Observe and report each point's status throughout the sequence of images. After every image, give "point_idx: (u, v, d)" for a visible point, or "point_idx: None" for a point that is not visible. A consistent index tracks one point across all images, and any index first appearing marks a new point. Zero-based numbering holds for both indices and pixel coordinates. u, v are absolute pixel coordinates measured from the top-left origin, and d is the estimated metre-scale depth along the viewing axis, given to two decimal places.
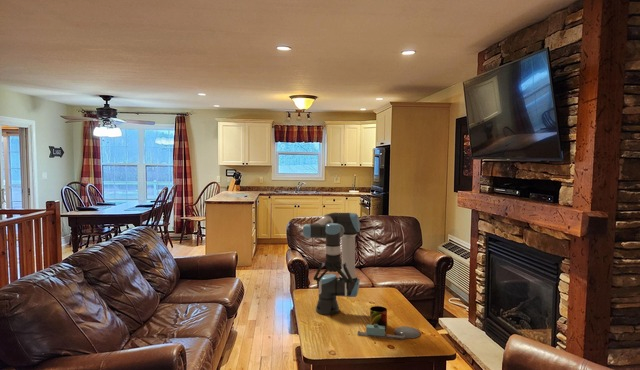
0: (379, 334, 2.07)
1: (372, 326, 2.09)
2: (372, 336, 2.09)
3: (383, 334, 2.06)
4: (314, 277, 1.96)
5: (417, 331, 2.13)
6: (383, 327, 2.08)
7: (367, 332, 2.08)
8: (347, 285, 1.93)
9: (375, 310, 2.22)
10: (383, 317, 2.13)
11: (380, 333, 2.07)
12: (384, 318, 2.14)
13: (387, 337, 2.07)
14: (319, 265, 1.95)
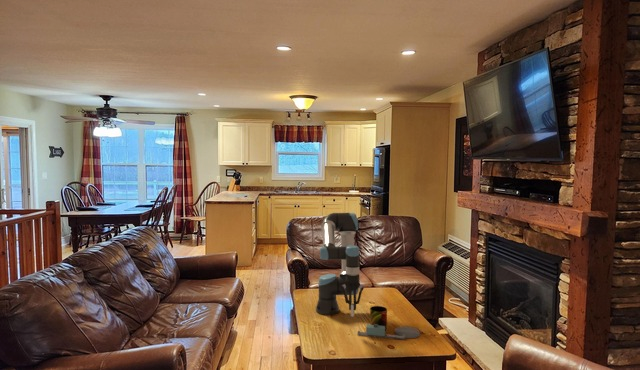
0: (379, 334, 2.07)
1: (372, 326, 2.09)
2: (372, 336, 2.09)
3: (383, 334, 2.06)
4: None
5: (417, 331, 2.13)
6: (383, 327, 2.08)
7: (367, 332, 2.08)
8: (354, 306, 2.10)
9: (375, 310, 2.22)
10: (383, 317, 2.14)
11: (380, 333, 2.07)
12: (384, 318, 2.14)
13: (387, 337, 2.07)
14: (342, 289, 2.11)
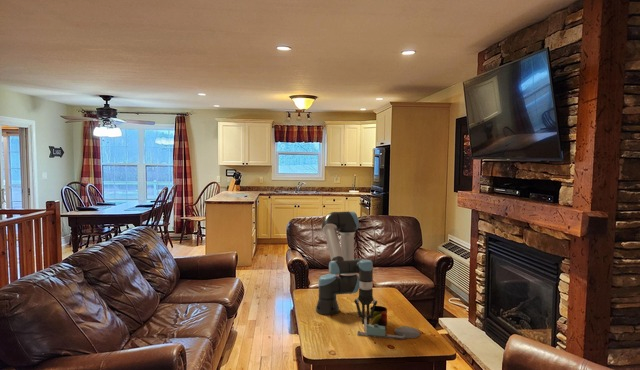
0: (379, 334, 2.07)
1: (372, 326, 2.09)
2: (372, 336, 2.09)
3: (383, 334, 2.06)
4: (359, 315, 2.10)
5: (417, 331, 2.13)
6: (383, 327, 2.08)
7: (367, 332, 2.08)
8: (367, 321, 2.09)
9: (375, 310, 2.22)
10: (383, 317, 2.14)
11: (380, 333, 2.07)
12: (384, 318, 2.14)
13: (387, 337, 2.07)
14: (355, 303, 2.10)
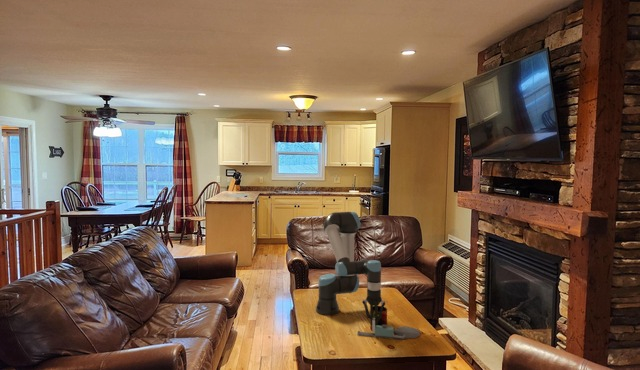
0: (388, 335, 2.06)
1: (380, 327, 2.08)
2: (372, 336, 2.09)
3: (392, 335, 2.05)
4: (367, 316, 2.09)
5: (417, 331, 2.13)
6: (392, 328, 2.07)
7: (376, 333, 2.07)
8: (376, 322, 2.08)
9: None
10: (383, 317, 2.14)
11: (389, 334, 2.06)
12: (384, 318, 2.14)
13: (387, 337, 2.07)
14: None
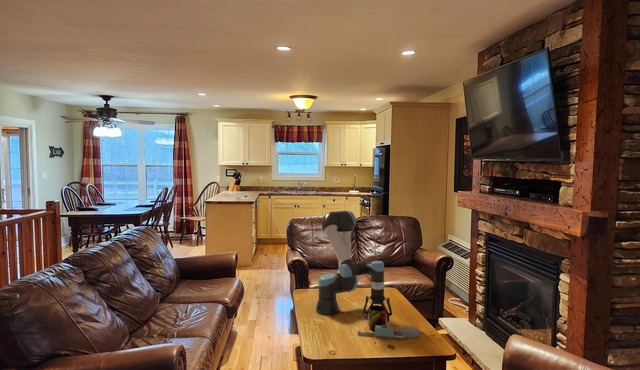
0: (388, 335, 2.06)
1: (381, 327, 2.08)
2: (372, 336, 2.09)
3: (392, 335, 2.05)
4: (363, 311, 2.20)
5: (417, 331, 2.13)
6: (392, 328, 2.07)
7: (376, 333, 2.07)
8: (388, 318, 2.18)
9: (374, 309, 2.23)
10: (382, 316, 2.14)
11: (389, 334, 2.06)
12: (383, 317, 2.15)
13: (387, 337, 2.07)
14: None
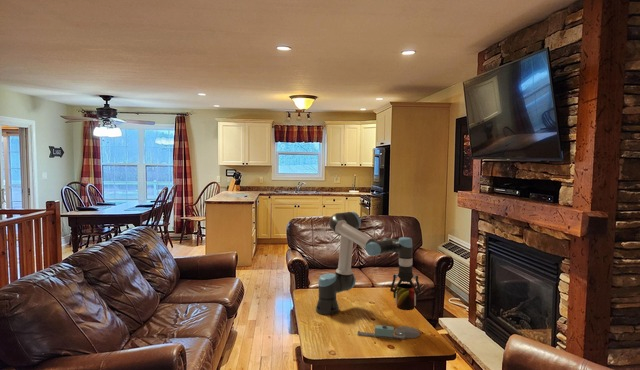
0: (388, 335, 2.06)
1: (381, 327, 2.08)
2: (372, 336, 2.09)
3: (392, 335, 2.05)
4: (390, 289, 2.13)
5: (417, 331, 2.13)
6: (392, 328, 2.07)
7: (376, 333, 2.07)
8: (416, 296, 2.10)
9: (402, 287, 2.16)
10: (410, 294, 2.07)
11: (389, 334, 2.06)
12: (412, 295, 2.08)
13: (387, 337, 2.07)
14: (393, 277, 2.13)
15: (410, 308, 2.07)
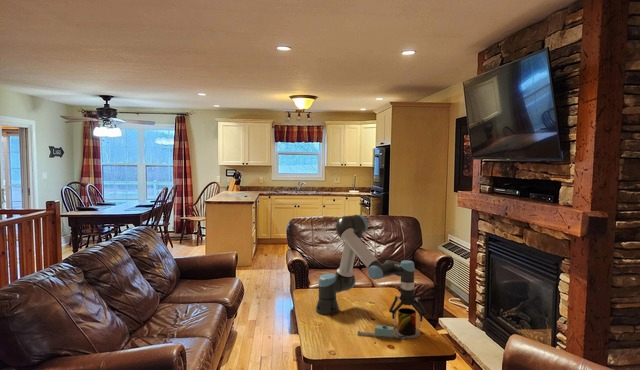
0: (388, 335, 2.06)
1: (381, 327, 2.08)
2: (372, 336, 2.09)
3: (392, 335, 2.05)
4: (390, 310, 2.14)
5: (417, 331, 2.13)
6: (392, 328, 2.07)
7: (376, 333, 2.07)
8: (421, 318, 2.11)
9: (403, 312, 2.17)
10: (412, 319, 2.08)
11: (389, 334, 2.06)
12: (413, 320, 2.08)
13: (387, 337, 2.07)
14: None
15: (411, 333, 2.08)
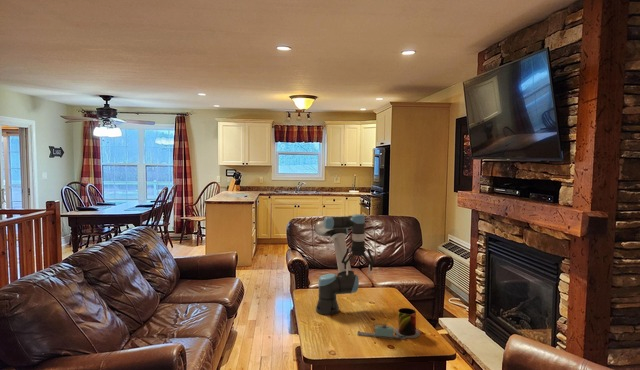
0: (388, 335, 2.06)
1: (381, 327, 2.08)
2: (372, 336, 2.09)
3: (392, 335, 2.05)
4: (342, 260, 2.28)
5: (417, 331, 2.13)
6: (392, 328, 2.07)
7: (376, 333, 2.07)
8: (370, 267, 2.25)
9: (403, 312, 2.17)
10: (412, 319, 2.08)
11: (389, 334, 2.06)
12: (413, 320, 2.08)
13: (387, 337, 2.07)
14: (346, 250, 2.27)
15: (411, 334, 2.08)
